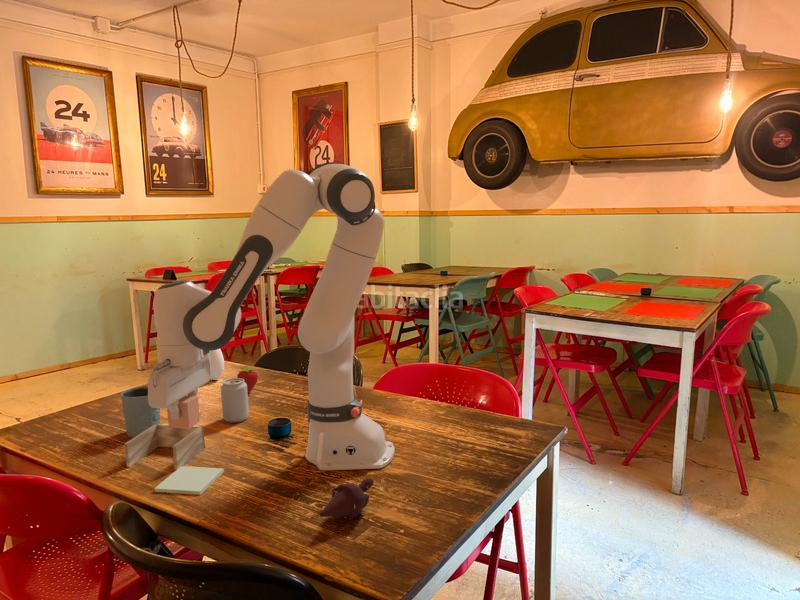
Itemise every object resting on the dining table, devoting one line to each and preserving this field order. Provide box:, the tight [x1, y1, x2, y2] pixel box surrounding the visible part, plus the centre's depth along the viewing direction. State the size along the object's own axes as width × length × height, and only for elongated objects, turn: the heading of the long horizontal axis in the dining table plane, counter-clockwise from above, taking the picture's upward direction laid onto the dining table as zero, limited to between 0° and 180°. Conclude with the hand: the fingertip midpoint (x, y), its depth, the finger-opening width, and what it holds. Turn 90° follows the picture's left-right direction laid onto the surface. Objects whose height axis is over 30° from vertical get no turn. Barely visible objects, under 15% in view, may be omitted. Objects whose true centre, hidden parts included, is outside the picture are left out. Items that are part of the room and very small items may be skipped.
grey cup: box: [120, 385, 161, 439], centre depth 158 cm, size 10×10×12 cm
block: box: [166, 395, 201, 429], centre depth 126 cm, size 5×4×6 cm
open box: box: [124, 423, 206, 471], centre depth 142 cm, size 14×13×6 cm
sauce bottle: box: [209, 348, 225, 381], centre depth 205 cm, size 8×8×18 cm
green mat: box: [154, 465, 225, 496], centre depth 129 cm, size 11×11×1 cm
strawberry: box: [236, 365, 259, 393], centre depth 191 cm, size 6×8×10 cm
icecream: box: [319, 477, 374, 521], centre depth 112 cm, size 7×7×15 cm
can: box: [220, 377, 250, 424], centre depth 166 cm, size 8×8×12 cm
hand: (183, 413), depth 126 cm, fingers closed on block, 4 cm apart
